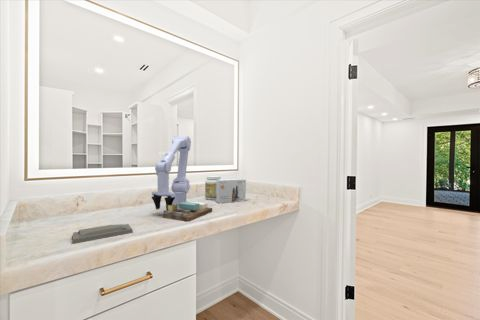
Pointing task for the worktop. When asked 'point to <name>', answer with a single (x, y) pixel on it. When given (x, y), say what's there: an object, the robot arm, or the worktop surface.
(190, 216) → the panel
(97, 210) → the worktop surface
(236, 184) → the skincare box
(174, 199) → the robot arm
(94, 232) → the soap mold
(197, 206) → the teal button
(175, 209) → the brass slider
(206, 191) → the supplement tub
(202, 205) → the white rectangular block
